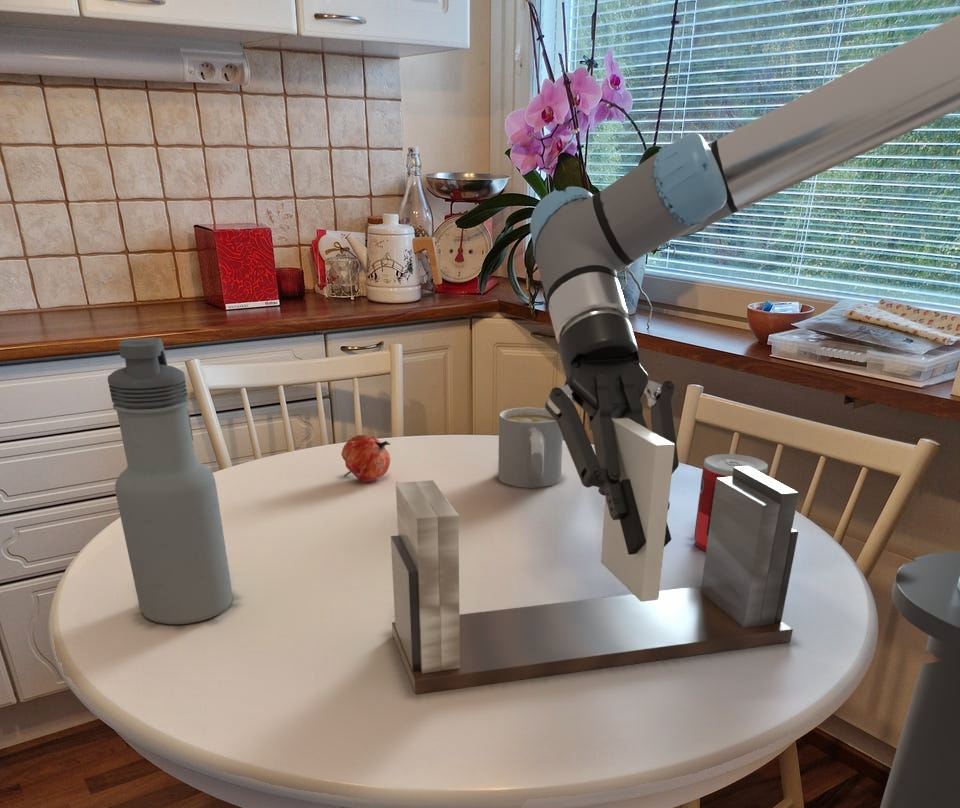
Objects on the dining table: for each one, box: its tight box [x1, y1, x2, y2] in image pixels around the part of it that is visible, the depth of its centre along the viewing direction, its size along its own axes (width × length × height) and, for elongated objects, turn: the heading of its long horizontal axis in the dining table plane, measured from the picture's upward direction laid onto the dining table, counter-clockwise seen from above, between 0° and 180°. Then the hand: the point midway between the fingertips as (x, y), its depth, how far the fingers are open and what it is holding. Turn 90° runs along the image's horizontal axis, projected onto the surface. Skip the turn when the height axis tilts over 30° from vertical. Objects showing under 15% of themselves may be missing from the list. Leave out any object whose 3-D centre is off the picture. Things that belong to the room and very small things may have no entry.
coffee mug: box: [497, 407, 564, 489], centre depth 131 cm, size 13×10×10 cm
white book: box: [600, 418, 675, 602], centre depth 81 cm, size 2×10×15 cm, turn 15°
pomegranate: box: [340, 434, 391, 483], centre depth 132 cm, size 7×7×10 cm
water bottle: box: [107, 337, 234, 625], centre depth 87 cm, size 10×10×28 cm
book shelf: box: [390, 466, 799, 695], centre depth 83 cm, size 39×12×16 cm, turn 105°
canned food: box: [693, 453, 769, 552], centre depth 107 cm, size 8×8×11 cm
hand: (649, 546), depth 79 cm, fingers closed on white book, 2 cm apart
